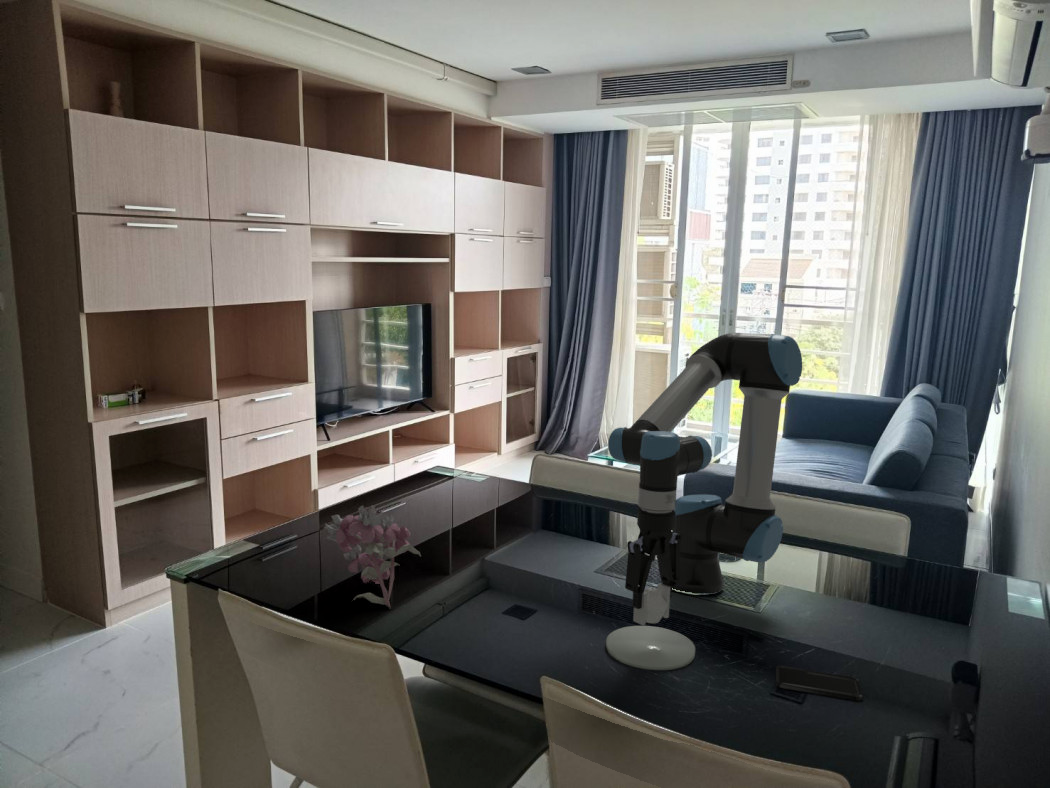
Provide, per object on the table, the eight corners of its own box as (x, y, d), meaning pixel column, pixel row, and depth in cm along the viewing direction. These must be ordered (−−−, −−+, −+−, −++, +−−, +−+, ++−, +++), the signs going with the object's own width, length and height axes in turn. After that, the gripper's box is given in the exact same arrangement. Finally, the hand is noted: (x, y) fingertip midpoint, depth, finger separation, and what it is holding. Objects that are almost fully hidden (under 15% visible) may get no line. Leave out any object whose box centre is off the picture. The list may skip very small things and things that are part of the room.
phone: (863, 697, 138) (775, 682, 142) (862, 703, 138) (775, 688, 142) (858, 678, 145) (776, 664, 150) (858, 683, 145) (775, 669, 150)
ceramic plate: (588, 643, 158) (588, 638, 158) (649, 624, 169) (649, 619, 169) (651, 678, 144) (651, 672, 144) (713, 655, 155) (713, 649, 155)
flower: (452, 585, 185) (420, 487, 189) (399, 607, 165) (365, 498, 169) (388, 606, 193) (358, 513, 197) (330, 631, 173) (299, 526, 177)
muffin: (659, 629, 151) (661, 595, 151) (631, 621, 155) (632, 588, 154) (671, 619, 157) (672, 586, 156) (643, 612, 160) (644, 579, 159)
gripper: (636, 519, 145) (630, 636, 147) (702, 506, 156) (696, 615, 158) (609, 510, 151) (604, 622, 153) (675, 498, 162) (669, 603, 164)
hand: (651, 618), depth 156 cm, fingers closed on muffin, 6 cm apart
